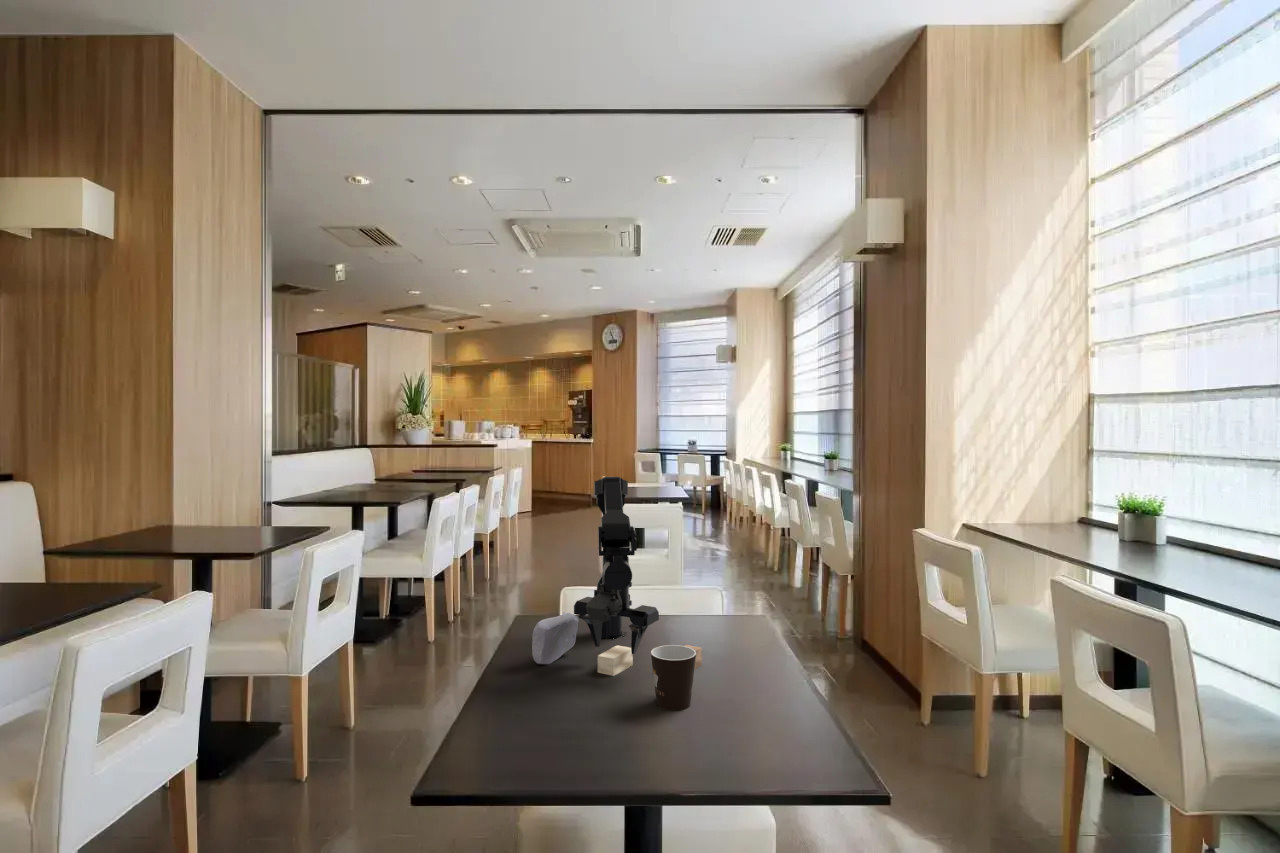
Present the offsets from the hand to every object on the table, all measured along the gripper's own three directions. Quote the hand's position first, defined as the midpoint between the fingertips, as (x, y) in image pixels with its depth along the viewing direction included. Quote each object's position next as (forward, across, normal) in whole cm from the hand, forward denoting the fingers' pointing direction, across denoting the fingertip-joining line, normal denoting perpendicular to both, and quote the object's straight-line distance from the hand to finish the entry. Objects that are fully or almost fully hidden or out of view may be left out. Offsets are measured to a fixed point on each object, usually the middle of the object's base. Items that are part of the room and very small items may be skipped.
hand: (615, 650), depth 150 cm
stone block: (+4, -14, -3) cm, 15 cm away
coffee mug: (+4, +19, -9) cm, 22 cm away
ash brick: (+4, 0, 0) cm, 4 cm away
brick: (+4, +13, +8) cm, 16 cm away
